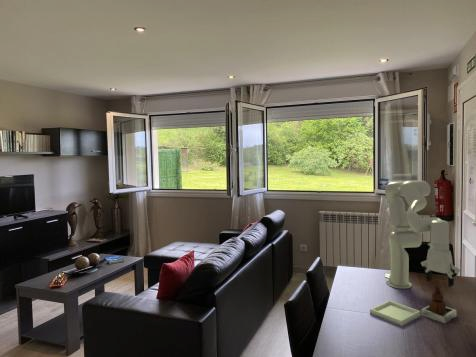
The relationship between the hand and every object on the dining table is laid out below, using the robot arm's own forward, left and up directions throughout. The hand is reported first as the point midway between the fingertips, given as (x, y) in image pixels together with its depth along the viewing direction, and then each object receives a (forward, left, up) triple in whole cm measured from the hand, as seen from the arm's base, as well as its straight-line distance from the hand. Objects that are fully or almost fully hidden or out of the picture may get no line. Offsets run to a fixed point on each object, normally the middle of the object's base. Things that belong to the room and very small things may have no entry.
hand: (439, 283), depth 168 cm
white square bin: (0, 0, -16) cm, 16 cm away
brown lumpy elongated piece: (-1, 0, -16) cm, 16 cm away
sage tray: (-13, -15, -16) cm, 26 cm away
